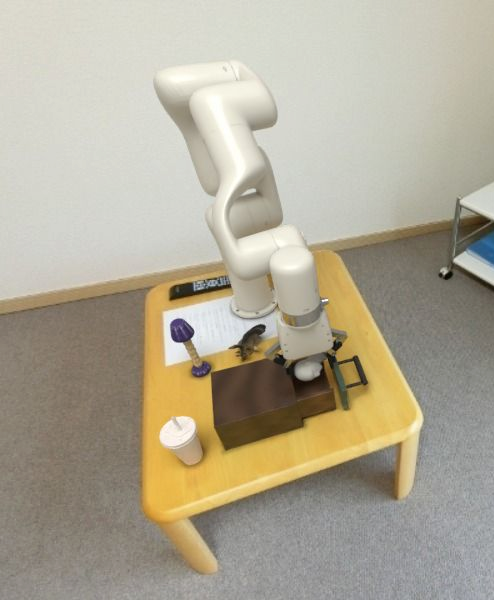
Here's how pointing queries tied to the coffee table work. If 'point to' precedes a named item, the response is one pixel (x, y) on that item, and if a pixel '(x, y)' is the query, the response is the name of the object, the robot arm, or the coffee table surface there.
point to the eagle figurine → (249, 341)
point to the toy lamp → (188, 345)
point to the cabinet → (253, 403)
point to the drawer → (324, 388)
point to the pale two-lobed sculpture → (310, 367)
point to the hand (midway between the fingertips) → (311, 368)
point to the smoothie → (182, 439)
